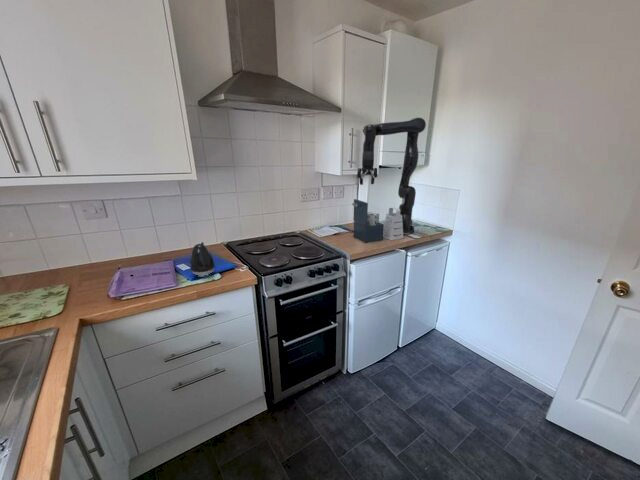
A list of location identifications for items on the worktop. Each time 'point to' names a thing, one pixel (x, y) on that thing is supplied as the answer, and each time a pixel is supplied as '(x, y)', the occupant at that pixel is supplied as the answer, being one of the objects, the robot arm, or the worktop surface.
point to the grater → (393, 225)
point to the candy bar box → (372, 219)
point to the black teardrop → (201, 261)
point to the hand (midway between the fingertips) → (366, 184)
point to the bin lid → (360, 212)
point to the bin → (368, 232)
